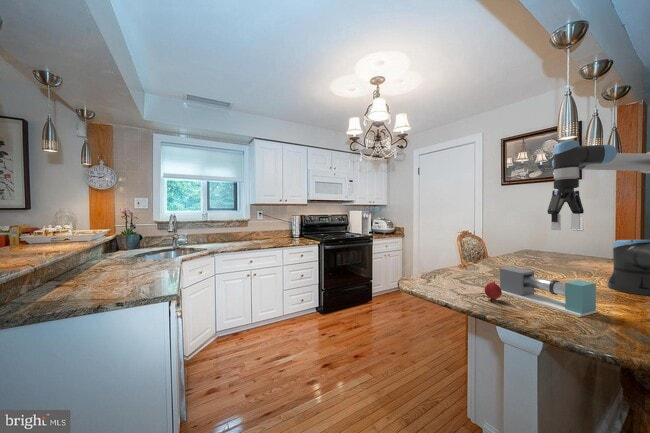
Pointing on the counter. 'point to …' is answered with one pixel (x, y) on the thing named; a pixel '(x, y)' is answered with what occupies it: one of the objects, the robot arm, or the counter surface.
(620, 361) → the counter surface
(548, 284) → the slip tube
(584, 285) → the socket
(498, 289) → the onion
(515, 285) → the sleeve
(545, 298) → the board
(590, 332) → the counter surface
